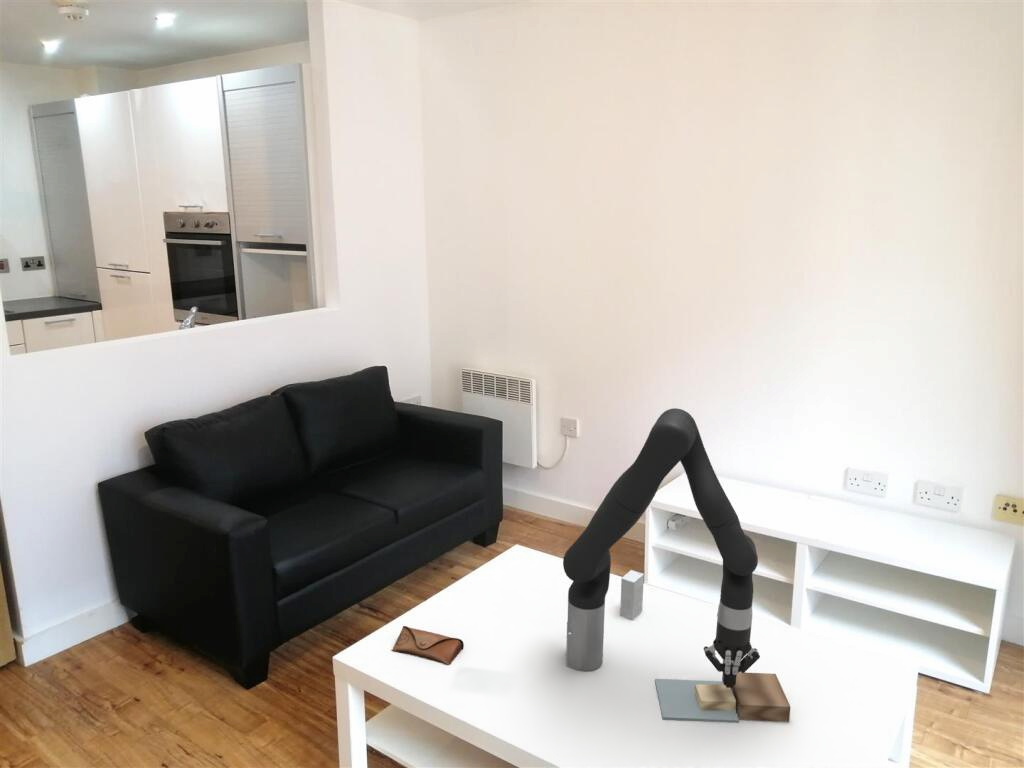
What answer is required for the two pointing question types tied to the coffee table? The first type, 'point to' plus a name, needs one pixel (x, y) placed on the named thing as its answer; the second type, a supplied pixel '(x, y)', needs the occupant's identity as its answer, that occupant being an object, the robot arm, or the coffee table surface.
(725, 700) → the oak tile
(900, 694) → the coffee table surface
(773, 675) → the block
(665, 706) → the grey mat
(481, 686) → the coffee table surface
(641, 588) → the skincare box
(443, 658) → the sunglasses case
